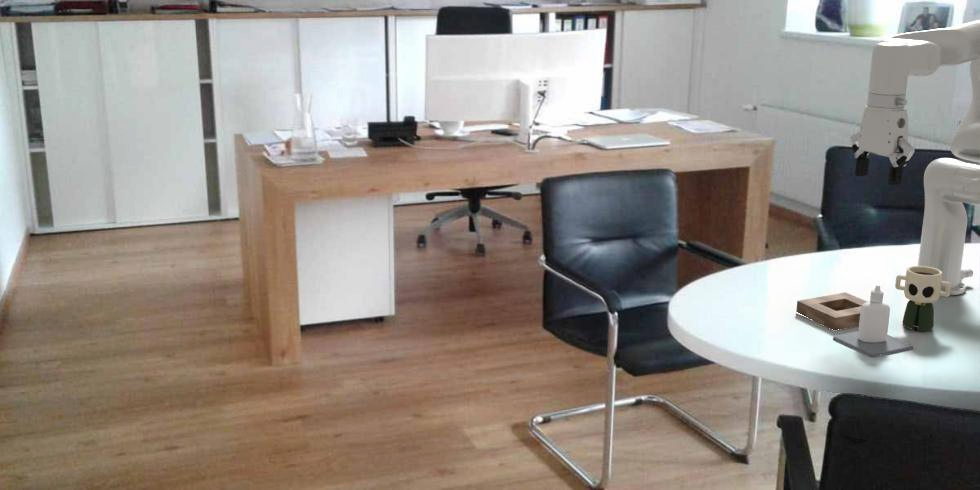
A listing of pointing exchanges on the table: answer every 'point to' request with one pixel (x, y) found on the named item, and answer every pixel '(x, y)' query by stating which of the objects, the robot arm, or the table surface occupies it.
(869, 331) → the eye dropper bottle
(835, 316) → the walnut dock
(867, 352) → the slate mat
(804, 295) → the table surface
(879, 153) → the robot arm
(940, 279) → the character mug
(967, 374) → the table surface
